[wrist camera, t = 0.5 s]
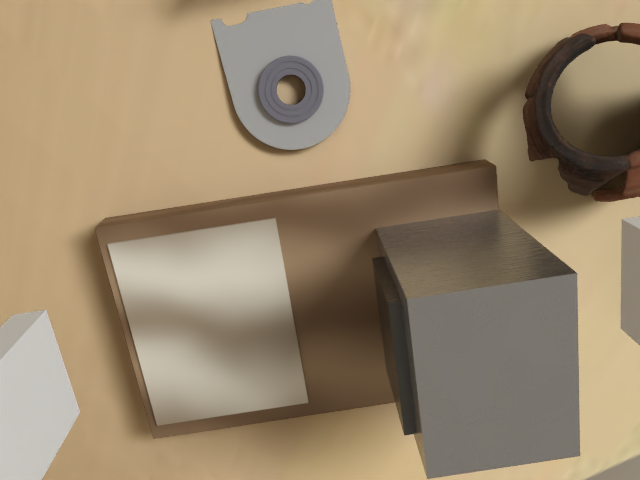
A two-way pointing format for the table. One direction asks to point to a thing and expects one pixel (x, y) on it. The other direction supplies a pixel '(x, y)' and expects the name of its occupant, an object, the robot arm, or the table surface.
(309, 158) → the table surface
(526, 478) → the table surface
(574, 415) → the grey box
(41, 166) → the table surface
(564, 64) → the pottery mug
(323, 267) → the brown wooden flat board
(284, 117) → the bracket
